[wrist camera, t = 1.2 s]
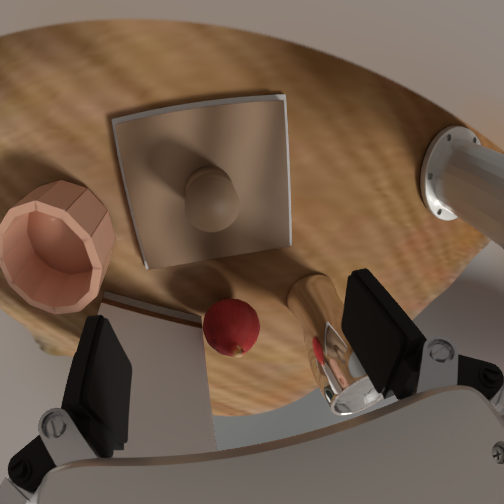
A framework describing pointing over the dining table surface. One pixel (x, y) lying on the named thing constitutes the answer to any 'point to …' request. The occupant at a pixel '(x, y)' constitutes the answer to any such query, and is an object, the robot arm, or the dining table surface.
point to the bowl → (57, 247)
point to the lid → (208, 181)
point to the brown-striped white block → (163, 379)
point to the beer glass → (330, 346)
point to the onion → (231, 327)
